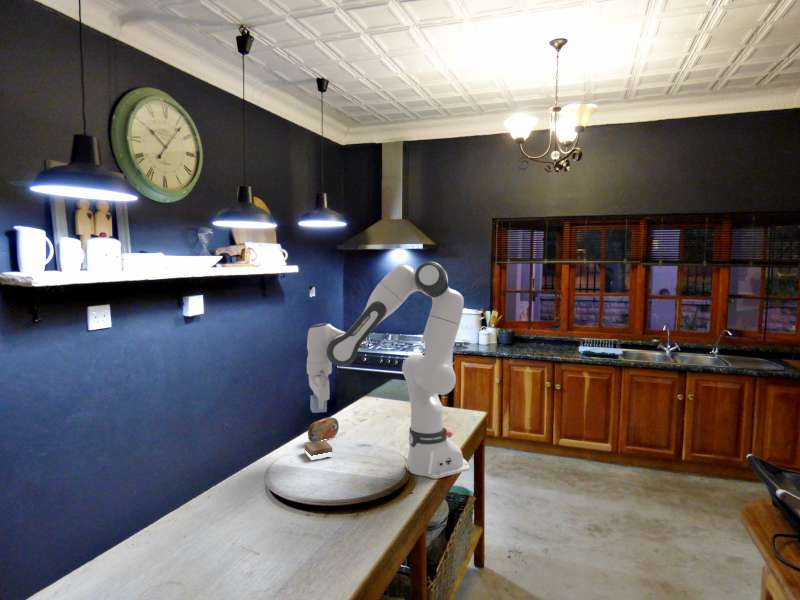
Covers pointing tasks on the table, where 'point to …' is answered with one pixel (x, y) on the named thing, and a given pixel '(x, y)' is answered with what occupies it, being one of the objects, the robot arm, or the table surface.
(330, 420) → the tin
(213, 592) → the table surface
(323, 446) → the walnut block
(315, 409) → the blue cube
